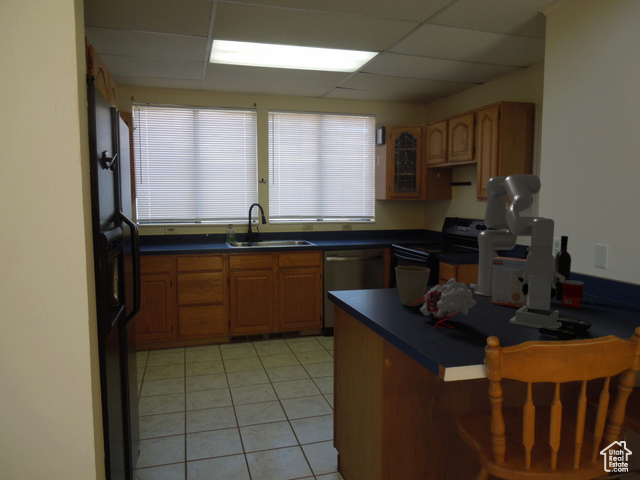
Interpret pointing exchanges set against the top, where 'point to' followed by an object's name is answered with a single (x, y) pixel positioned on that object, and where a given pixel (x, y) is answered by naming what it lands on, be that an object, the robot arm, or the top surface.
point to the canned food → (572, 294)
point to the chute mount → (535, 319)
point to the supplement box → (538, 293)
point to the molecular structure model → (447, 300)
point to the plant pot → (411, 283)
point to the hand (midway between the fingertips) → (538, 296)
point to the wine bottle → (562, 266)
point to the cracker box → (508, 282)
